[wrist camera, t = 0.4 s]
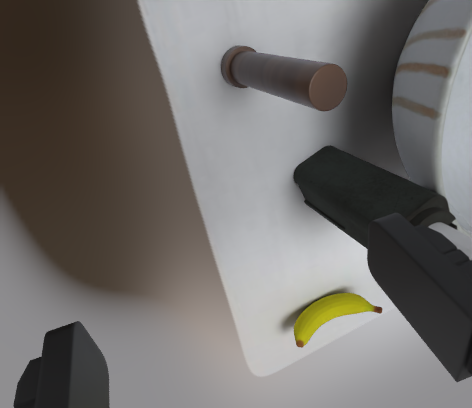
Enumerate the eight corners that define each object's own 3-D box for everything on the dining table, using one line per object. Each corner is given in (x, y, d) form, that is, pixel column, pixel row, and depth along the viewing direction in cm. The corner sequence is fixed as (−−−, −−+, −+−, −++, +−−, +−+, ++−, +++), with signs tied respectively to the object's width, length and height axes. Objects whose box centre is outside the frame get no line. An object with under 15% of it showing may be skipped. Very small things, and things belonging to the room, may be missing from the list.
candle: (289, 171, 36) (609, 375, 15) (332, 140, 37) (699, 297, 16) (308, 210, 39) (602, 429, 18) (348, 181, 39) (678, 360, 18)
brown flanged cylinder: (213, 63, 30) (293, 85, 20) (242, 37, 30) (337, 44, 20) (235, 94, 31) (320, 128, 21) (263, 69, 31) (360, 91, 21)
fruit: (354, 277, 46) (384, 303, 42) (355, 291, 47) (384, 317, 43) (278, 316, 43) (302, 347, 39) (281, 329, 44) (304, 361, 40)
